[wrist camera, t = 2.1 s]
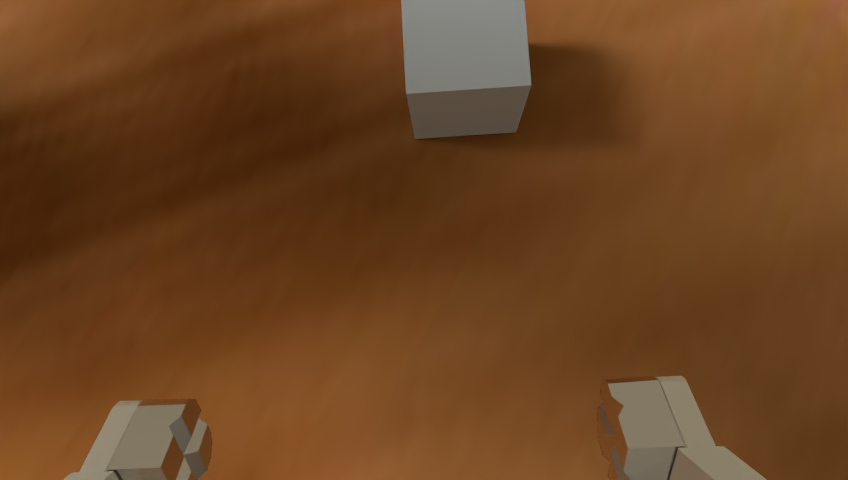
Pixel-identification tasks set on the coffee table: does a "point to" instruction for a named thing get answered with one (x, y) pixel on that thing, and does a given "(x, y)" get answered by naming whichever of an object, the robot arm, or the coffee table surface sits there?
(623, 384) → the robot arm
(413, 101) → the slate cover
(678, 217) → the coffee table surface
